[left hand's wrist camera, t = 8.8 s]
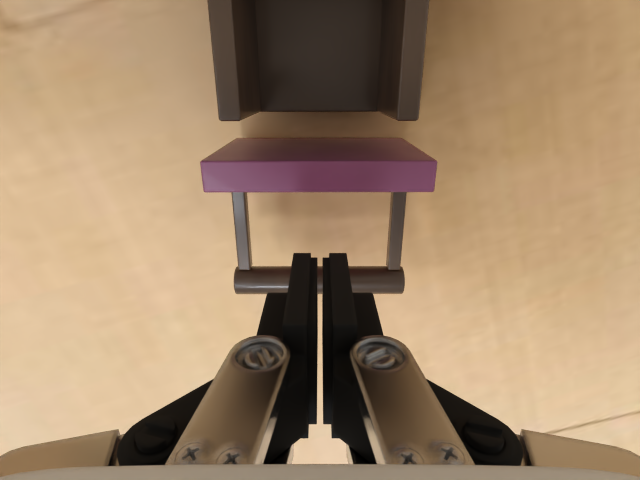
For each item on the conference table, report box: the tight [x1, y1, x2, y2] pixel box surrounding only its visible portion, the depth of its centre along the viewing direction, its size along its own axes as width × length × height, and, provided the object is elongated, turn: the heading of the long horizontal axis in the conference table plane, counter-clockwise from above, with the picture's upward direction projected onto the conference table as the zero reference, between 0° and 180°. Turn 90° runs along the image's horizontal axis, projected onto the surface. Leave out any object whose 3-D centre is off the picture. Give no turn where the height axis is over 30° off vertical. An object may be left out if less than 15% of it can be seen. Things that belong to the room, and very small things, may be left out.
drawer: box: [200, 0, 437, 294], centre depth 15 cm, size 24×9×7 cm, turn 0°
